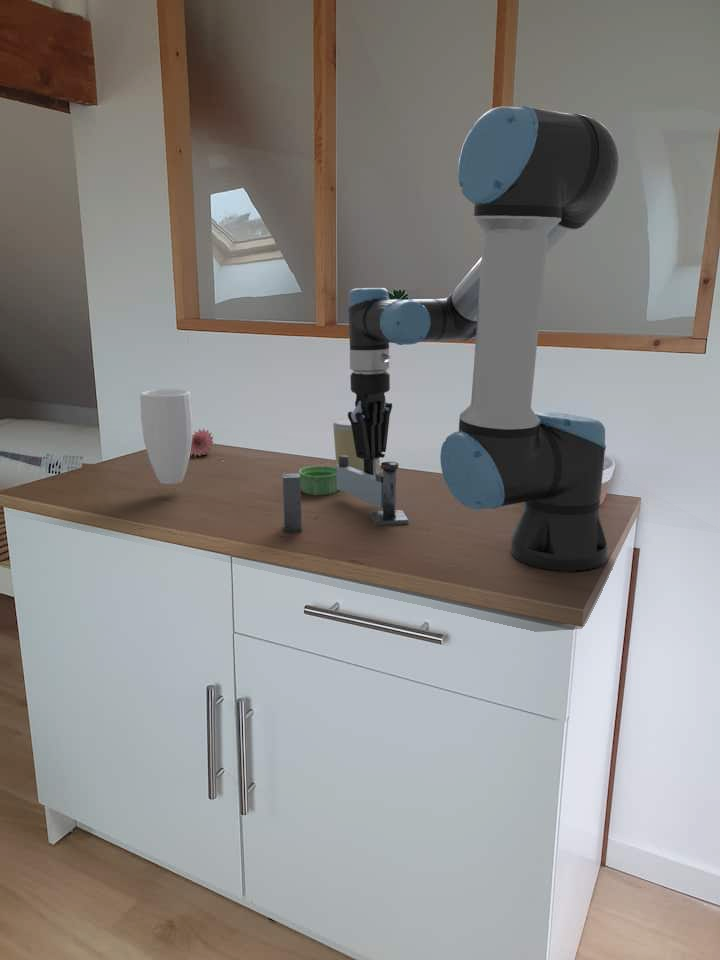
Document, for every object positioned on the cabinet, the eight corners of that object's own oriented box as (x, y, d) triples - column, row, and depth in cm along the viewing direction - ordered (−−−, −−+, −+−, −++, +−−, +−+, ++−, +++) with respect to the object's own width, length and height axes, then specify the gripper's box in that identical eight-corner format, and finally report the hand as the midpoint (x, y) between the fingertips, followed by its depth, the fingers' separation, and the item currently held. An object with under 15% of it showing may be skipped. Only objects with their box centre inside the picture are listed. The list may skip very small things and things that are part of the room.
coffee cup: (379, 475, 170) (380, 423, 167) (341, 479, 167) (341, 426, 164) (364, 465, 179) (364, 416, 176) (327, 469, 175) (327, 419, 172)
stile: (301, 531, 133) (300, 477, 130) (284, 532, 132) (283, 477, 130) (300, 525, 136) (299, 472, 133) (283, 526, 135) (282, 473, 133)
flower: (207, 428, 194) (196, 419, 189) (226, 444, 190) (215, 435, 186) (187, 451, 194) (176, 443, 189) (206, 468, 190) (195, 460, 185)
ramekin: (290, 490, 158) (289, 470, 157) (321, 482, 165) (321, 463, 163) (318, 499, 152) (318, 478, 151) (349, 490, 159) (349, 470, 157)
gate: (389, 506, 140) (389, 470, 138) (380, 508, 139) (380, 472, 137) (344, 487, 153) (343, 454, 151) (335, 488, 152) (335, 455, 150)
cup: (159, 505, 148) (151, 398, 142) (138, 493, 156) (129, 391, 150) (206, 495, 154) (200, 392, 149) (183, 485, 162) (177, 387, 157)
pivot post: (408, 523, 136) (409, 467, 134) (376, 525, 136) (376, 468, 133) (401, 514, 142) (402, 459, 139) (371, 515, 141) (371, 460, 138)
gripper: (368, 376, 134) (371, 500, 141) (403, 368, 145) (404, 484, 151) (334, 374, 138) (338, 495, 144) (371, 366, 149) (373, 480, 155)
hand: (372, 489), depth 148 cm, fingers closed
